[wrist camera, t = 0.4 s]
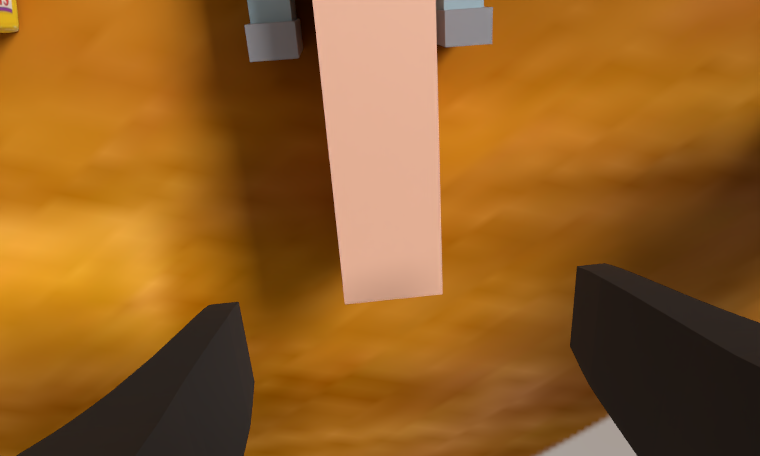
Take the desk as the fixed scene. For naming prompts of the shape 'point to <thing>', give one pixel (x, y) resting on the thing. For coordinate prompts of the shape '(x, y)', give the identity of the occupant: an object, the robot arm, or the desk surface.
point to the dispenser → (284, 37)
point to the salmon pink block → (383, 143)
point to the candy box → (8, 16)
